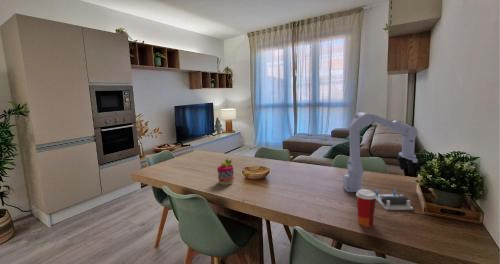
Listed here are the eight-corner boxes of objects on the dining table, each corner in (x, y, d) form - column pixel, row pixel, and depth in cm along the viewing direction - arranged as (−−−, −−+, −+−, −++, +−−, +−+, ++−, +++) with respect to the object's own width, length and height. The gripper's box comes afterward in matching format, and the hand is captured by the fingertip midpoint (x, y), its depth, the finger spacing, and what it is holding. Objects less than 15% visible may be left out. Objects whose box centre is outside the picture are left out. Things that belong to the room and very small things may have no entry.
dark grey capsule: (383, 205, 114) (384, 198, 114) (380, 202, 118) (380, 195, 117) (410, 205, 113) (410, 198, 113) (405, 201, 117) (406, 194, 116)
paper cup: (369, 218, 106) (370, 188, 103) (379, 227, 98) (380, 195, 96) (351, 219, 105) (352, 189, 103) (360, 228, 98) (361, 196, 96)
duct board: (386, 210, 112) (386, 202, 111) (372, 196, 127) (372, 189, 126) (413, 209, 111) (413, 201, 110) (396, 196, 126) (396, 188, 125)
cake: (230, 186, 150) (229, 163, 148) (215, 185, 154) (213, 162, 151) (236, 180, 160) (235, 158, 157) (222, 179, 163) (220, 158, 161)
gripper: (424, 150, 123) (422, 175, 125) (408, 144, 137) (406, 167, 139) (410, 151, 123) (408, 176, 126) (395, 145, 138) (394, 167, 140)
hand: (406, 171), depth 133 cm, fingers open, 7 cm apart
